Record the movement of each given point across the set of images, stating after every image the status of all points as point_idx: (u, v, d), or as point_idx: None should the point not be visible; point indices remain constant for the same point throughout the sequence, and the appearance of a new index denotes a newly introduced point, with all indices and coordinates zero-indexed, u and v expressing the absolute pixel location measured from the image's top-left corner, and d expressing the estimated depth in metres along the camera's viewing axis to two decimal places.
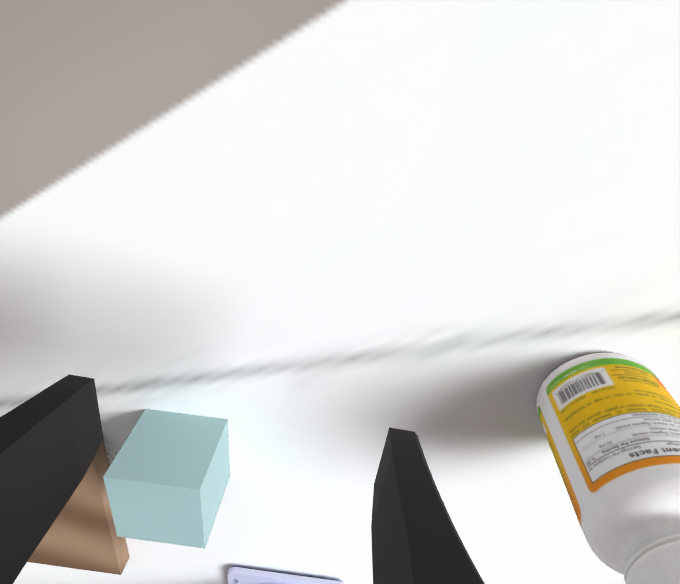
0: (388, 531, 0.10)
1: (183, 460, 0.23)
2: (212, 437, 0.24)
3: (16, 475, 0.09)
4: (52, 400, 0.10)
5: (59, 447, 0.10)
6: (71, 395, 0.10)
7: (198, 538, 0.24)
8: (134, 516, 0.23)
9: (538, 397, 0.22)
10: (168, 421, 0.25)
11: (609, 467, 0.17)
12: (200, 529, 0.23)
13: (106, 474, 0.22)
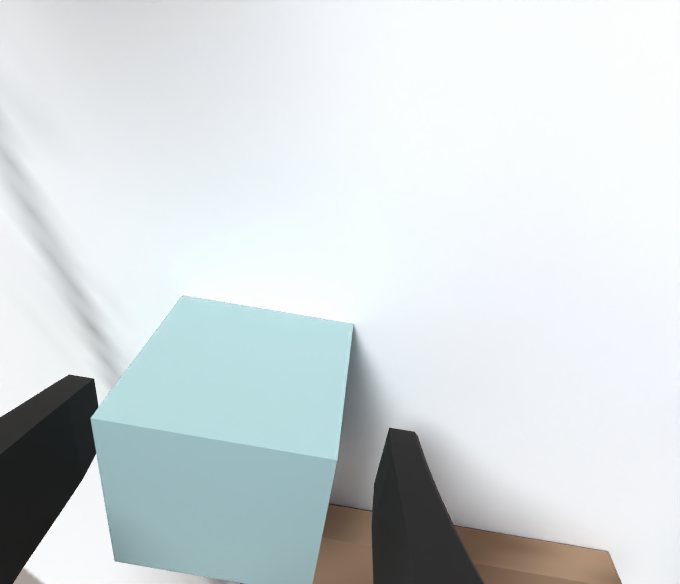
0: (388, 531, 0.10)
1: None
2: None
3: (16, 475, 0.09)
4: (52, 400, 0.10)
5: (59, 447, 0.10)
6: (71, 395, 0.10)
7: (294, 464, 0.09)
8: (229, 551, 0.10)
9: None
10: None
11: None
12: (252, 451, 0.09)
13: None
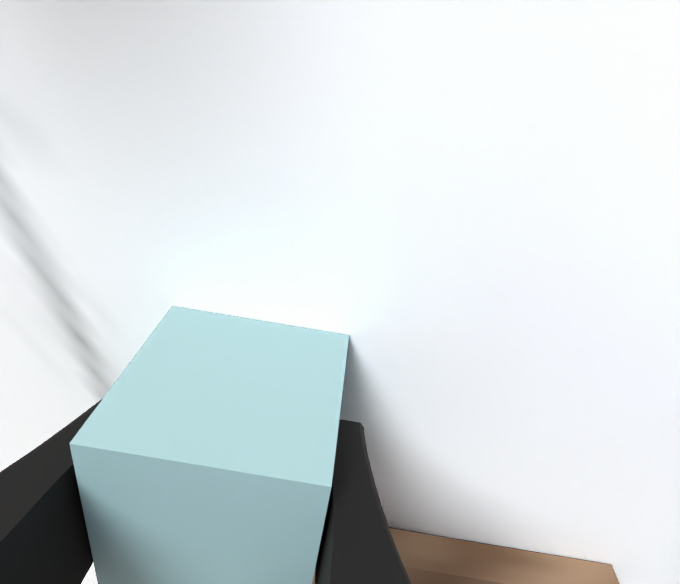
0: (325, 520, 0.10)
1: None
2: None
3: None
4: None
5: None
6: None
7: (286, 491, 0.08)
8: (219, 578, 0.10)
9: None
10: None
11: None
12: (241, 478, 0.08)
13: None
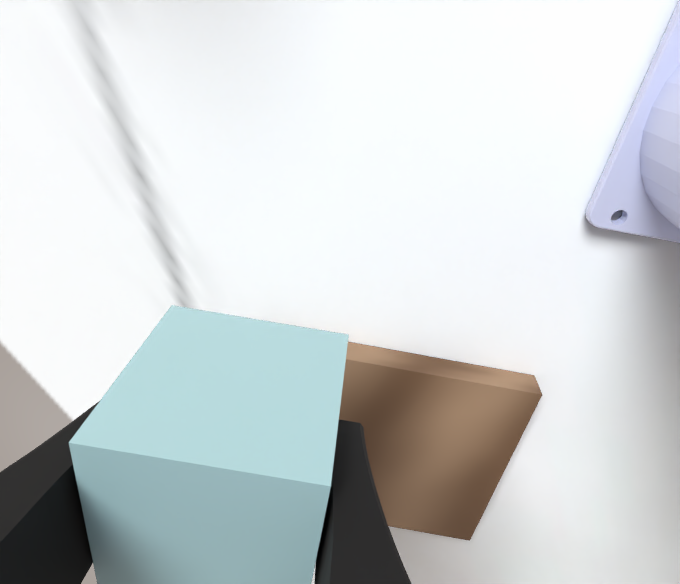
0: (325, 520, 0.10)
1: None
2: None
3: None
4: None
5: None
6: None
7: (284, 490, 0.08)
8: (218, 578, 0.10)
9: None
10: None
11: None
12: (240, 478, 0.08)
13: None
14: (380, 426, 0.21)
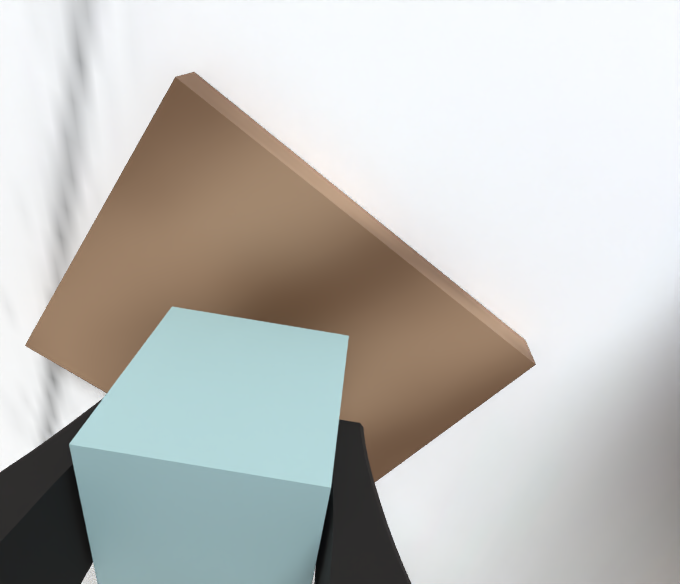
0: (325, 520, 0.10)
1: None
2: None
3: None
4: None
5: None
6: None
7: (285, 492, 0.08)
8: (219, 579, 0.10)
9: None
10: None
11: None
12: (240, 479, 0.08)
13: None
14: (302, 319, 0.14)
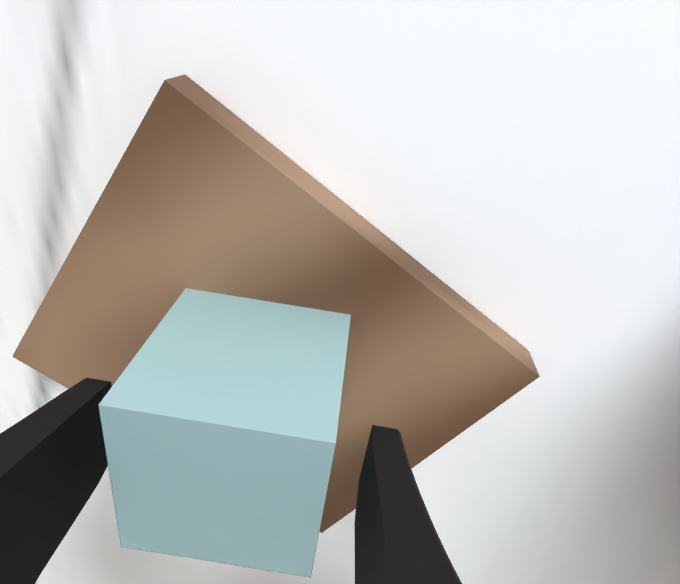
0: (368, 528, 0.10)
1: None
2: None
3: (37, 478, 0.09)
4: (71, 403, 0.10)
5: (77, 450, 0.10)
6: (89, 398, 0.10)
7: (294, 448, 0.09)
8: (232, 535, 0.11)
9: None
10: None
11: None
12: (253, 436, 0.09)
13: None
14: None
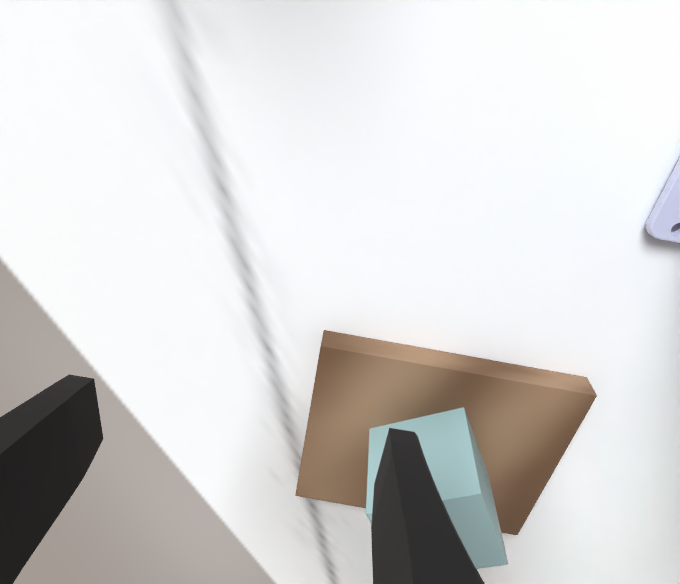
0: (388, 531, 0.10)
1: None
2: None
3: (16, 475, 0.09)
4: (52, 400, 0.10)
5: (59, 447, 0.10)
6: (71, 395, 0.10)
7: (463, 502, 0.18)
8: None
9: None
10: None
11: None
12: None
13: None
14: None
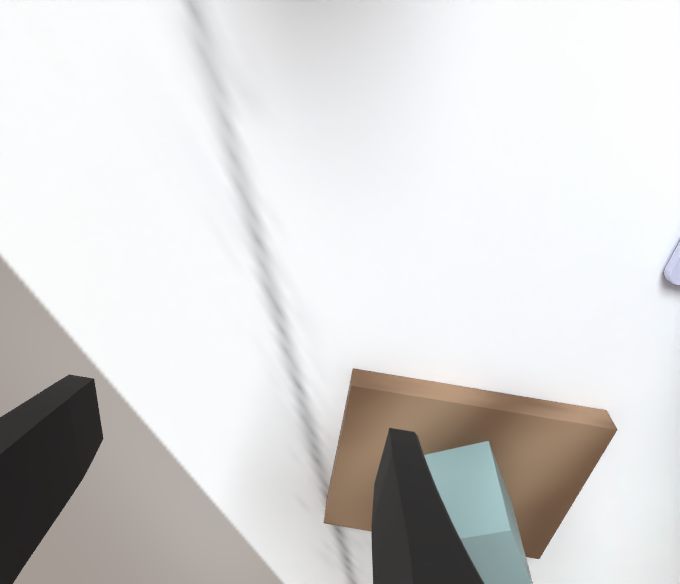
0: (388, 531, 0.10)
1: None
2: None
3: (16, 475, 0.09)
4: (52, 400, 0.10)
5: (59, 447, 0.10)
6: (71, 395, 0.10)
7: (493, 538, 0.19)
8: None
9: None
10: None
11: None
12: (471, 539, 0.19)
13: None
14: None
